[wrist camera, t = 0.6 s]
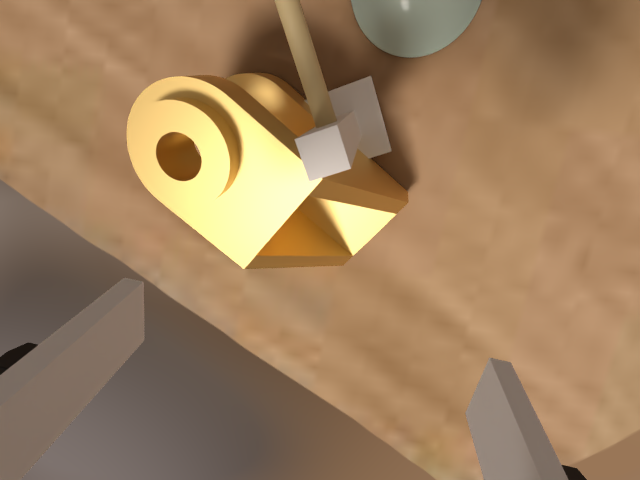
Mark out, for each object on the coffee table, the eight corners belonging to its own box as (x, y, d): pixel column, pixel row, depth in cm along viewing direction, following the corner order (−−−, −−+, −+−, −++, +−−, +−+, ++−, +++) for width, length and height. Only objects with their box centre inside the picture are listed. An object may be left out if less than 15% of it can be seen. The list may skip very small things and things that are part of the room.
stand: (252, -44, 33) (128, -179, 17) (328, -81, 32) (275, -271, 15) (323, 171, 39) (285, 230, 23) (391, 149, 38) (404, 196, 21)
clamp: (202, 127, 40) (89, 162, 25) (251, 50, 36) (150, 40, 22) (347, 251, 42) (319, 345, 28) (407, 191, 38) (411, 266, 24)
